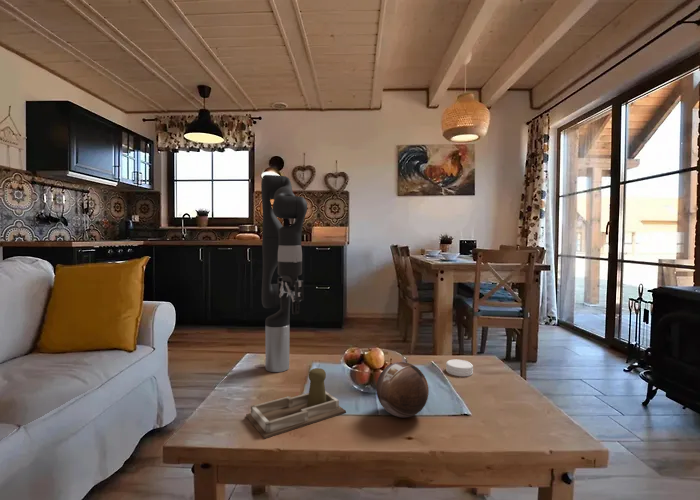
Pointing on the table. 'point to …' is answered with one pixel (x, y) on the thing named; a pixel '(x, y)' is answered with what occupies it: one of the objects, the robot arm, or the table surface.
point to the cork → (316, 387)
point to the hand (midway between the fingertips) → (289, 311)
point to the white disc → (459, 367)
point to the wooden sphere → (402, 389)
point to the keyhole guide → (291, 414)
